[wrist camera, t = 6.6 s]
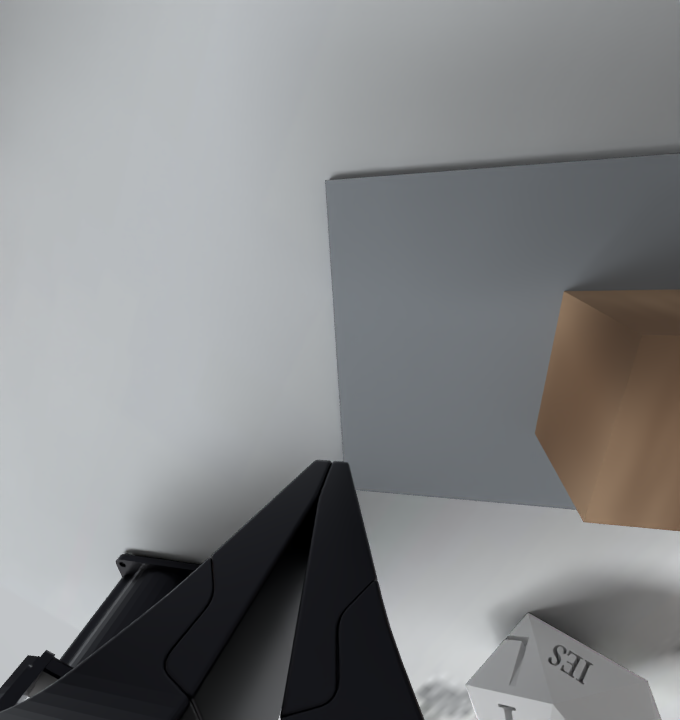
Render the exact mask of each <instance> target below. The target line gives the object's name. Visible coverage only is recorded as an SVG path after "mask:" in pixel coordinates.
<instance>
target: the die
mask: <svg viewBox="0 0 680 720" xmlns="http://www.w3.org/2000/svg"><path fill="white" fill-rule="evenodd" d="M466 688H467V691H468V694H469V697H470V700H471V703H472V706H473V708H474V711H475V714H476V717H477V720H661V717H660V714H659V711H658V709H657V706H656V703H655V700H654V697H653V695H652V692H651V689H650V686H649V684H648V681H647V680H645V679H643V678H642V677H640V676H638V675H636V674H635V673H633V672H631V671H629V670H628V669H626V668H624V667H622V666H621V665H619V664H617V663H615V662H614V661H612V660H610V659H608V658H607V657H605V656H603V655H601V654H600V653H598V652H596V651H594V650H593V649H591V648H589V647H587V646H586V645H584V644H582V643H580V642H579V641H577V640H575V639H573V638H572V637H570V636H568V635H566V634H565V633H563V632H561V631H559V630H558V629H556V628H554V627H552V626H551V625H549V624H547V623H545V622H544V621H542V620H540V619H538V618H537V617H535V616H533V615H531V614H530V613H527V614H526V615H525V617H524V618H523V619H522V620H521V621H520V622H519V623H518V625H517V626H516V627H515V628H514V629H513V630H512V632H511V633H510V634H509V635H508V637H507V638H506V639H505V640H504V641H503V642H502V643H501V644H500V645H499V647H498V648H497V649H496V650H495V651H494V652H493V653H492V655H491V656H490V657H489V658H488V659H487V660H486V661H485V663H484V664H483V665H482V666H481V667H480V668H479V670H478V671H477V672H476V673H475V674H474V675H473V676H472V678H471V679H470V680H469V681H468V682H467V683H466Z"/></svg>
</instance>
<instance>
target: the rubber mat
mask: <svg viewBox="0 0 680 720" xmlns="http://www.w3.org/2000/svg"><path fill="white" fill-rule="evenodd" d="M325 185H326V200H327V216H328V231H329V246H330V261H331V277H332V292H333V307H334V322H335V338H336V353H337V368H338V383H339V399H340V414H341V429H342V444H343V460H344V462H348V463H349V466H350V470H351V474H352V478H353V482H354V486H355V490H362V491H373V492H385V493H396V494H407V495H418V496H430V497H441V498H452V499H463V500H475V501H486V502H497V503H508V504H520V505H531V506H542V507H553V508H565V509H576V507H575V505H574V504H573V502H572V500H571V498H570V496H569V495H568V493H567V491H566V489H565V487H564V486H563V484H562V482H561V480H560V478H559V476H558V475H557V473H556V471H555V469H554V467H553V466H552V464H551V462H550V460H549V458H548V457H547V455H546V453H545V451H544V449H543V448H542V446H541V444H540V442H539V440H538V438H537V437H536V435H535V429H536V425H537V420H538V415H539V410H540V405H541V400H542V395H543V390H544V386H545V381H546V376H547V371H548V366H549V361H550V356H551V351H552V347H553V342H554V337H555V332H556V327H557V322H558V317H559V313H560V308H561V303H562V298H563V293H564V291H610V290H677V289H680V153H675V154H662V155H649V156H636V157H623V158H610V159H597V160H584V161H571V162H558V163H545V164H532V165H519V166H506V167H493V168H480V169H467V170H454V171H441V172H428V173H415V174H402V175H389V176H376V177H363V178H350V179H337V180H325ZM576 510H577V509H576Z"/></svg>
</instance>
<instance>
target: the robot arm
mask: <svg viewBox="0 0 680 720" xmlns="http://www.w3.org/2000/svg"><path fill="white" fill-rule="evenodd" d="M116 564H117V567H118V569H119V571H120V573H121V575H122V579H121V580H120V581H119V582H118V584H117V585H116V586H115V588H114V589H113V590H112V592H111V593H110V594H109V596H108V597H107V598H106V600H105V601H104V602H103V603H102V605H101V606H100V607H99V609H98V610H97V611H96V613H95V614H94V615H93V617H92V618H91V619H90V621H89V622H88V623H87V625H86V626H85V627H84V628H83V630H82V631H81V632H80V634H79V635H78V637H77V638H76V639H75V640H74V642H73V643H72V644H71V646H70V647H69V648H68V649H67V651H66V652H65V653H64V655H63V656H62V657H61V659H60V660H58V659H57V658H55V657H54V656H55V654H53V653H51V652H49V651H47V650H46V651H45V652H44V653H43V654H42V656H41V657H39V656H38V657H37V656H29V655H28V656H27V657H26V658H25V660H24V661H23V662H22V663H21V664H20V666H19V667H18V668H17V669H16V670H15V671H14V672H13V674H12V675H11V676H10V677H9V679H8V680H7V681H6V682H5V683H4V684H3V685H2V687H1V688H0V720H278V718H279V715H280V718H281V720H424V717H423V715H422V712H421V709H420V707H419V704H418V702H417V699H416V696H415V694H414V691H413V688H412V686H411V683H410V681H409V678H408V675H407V673H406V670H405V668H404V665H403V662H402V659H401V657H400V654H399V651H398V648H397V645H396V642H395V639H394V637H393V634H392V631H391V628H390V624H389V621H388V617H387V614H386V610H385V606H384V603H383V599H382V595H381V591H380V587H379V583H378V581H377V575H376V571H375V567H374V563H373V559H372V555H371V551H370V547H369V543H368V539H367V535H366V531H365V527H364V523H363V519H362V514H361V510H360V506H359V502H358V498H357V494H356V490H355V486H354V482H353V478H352V474H351V470H350V466H349V463H348V462H339V461H334V462H331V461H326V460H316V461H314V462H313V463H312V464H311V465H310V466H309V467H307V468H306V469H305V470H304V471H303V472H302V473H301V474H300V475H299V476H298V477H297V478H295V479H294V480H293V481H292V482H291V483H290V484H289V485H288V486H287V487H286V488H285V489H283V490H282V491H281V492H280V493H279V494H278V495H277V496H276V497H275V498H274V499H273V500H271V501H270V502H269V503H268V504H267V505H266V506H265V507H264V508H263V509H262V510H261V511H259V512H258V513H257V514H256V515H255V516H254V517H253V518H252V519H251V520H250V521H249V522H247V523H246V524H245V525H244V526H243V527H242V528H241V529H240V530H239V531H238V532H237V533H235V534H234V535H233V536H232V537H231V538H230V539H229V540H228V541H227V542H226V543H225V544H224V545H222V546H221V547H220V548H219V549H218V550H217V551H216V552H215V553H214V554H213V555H212V559H211V558H208V559H207V560H206V561H205V562H204V563H203V564H201V565H198V564H191V563H184V562H177V561H169V560H162V559H155V558H148V557H141V556H134V555H127V554H122V555H120V557H119V558H118V559H117V560H116ZM27 696H28V697H30V698H28V699H27V700H25V699H26V698H27ZM24 700H25V701H24ZM281 708H282V709H281ZM280 711H281V714H280Z"/></svg>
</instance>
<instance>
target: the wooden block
mask: <svg viewBox="0 0 680 720" xmlns="http://www.w3.org/2000/svg"><path fill="white" fill-rule="evenodd" d="M535 435H536V437H537V438H538V440H539V442H540V444H541V446H542V448H543V449H544V451H545V453H546V455H547V457H548V458H549V460H550V462H551V464H552V466H553V467H554V469H555V471H556V473H557V475H558V476H559V478H560V480H561V482H562V484H563V486H564V487H565V489H566V491H567V493H568V495H569V496H570V498H571V500H572V502H573V504H574V505H575V507H576V509H577V511H578V513H579V514H580V516H581V518H582V520H583V522H588V523H599V524H609V525H620V526H631V527H641V528H652V529H662V530H673V531H680V289H677V290H610V291H564V293H563V298H562V303H561V308H560V313H559V317H558V322H557V327H556V332H555V337H554V342H553V347H552V351H551V356H550V361H549V366H548V371H547V376H546V381H545V386H544V390H543V395H542V400H541V405H540V410H539V415H538V420H537V425H536V429H535Z"/></svg>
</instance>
